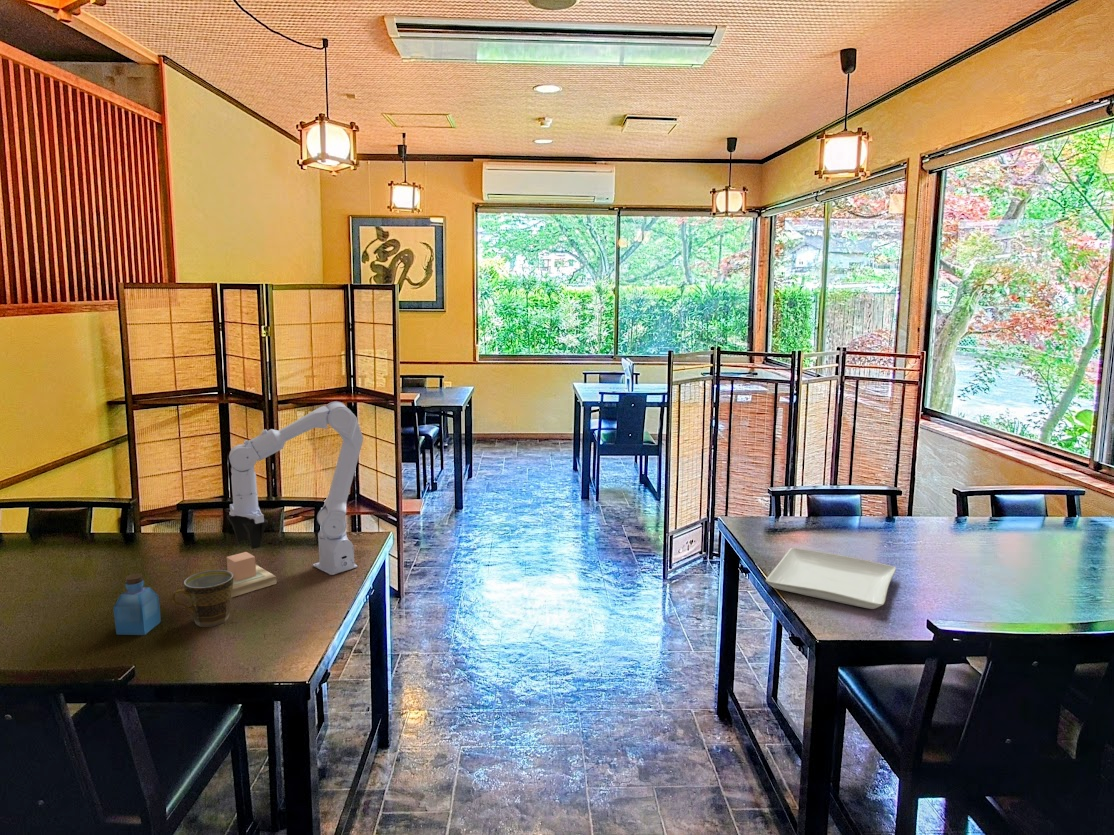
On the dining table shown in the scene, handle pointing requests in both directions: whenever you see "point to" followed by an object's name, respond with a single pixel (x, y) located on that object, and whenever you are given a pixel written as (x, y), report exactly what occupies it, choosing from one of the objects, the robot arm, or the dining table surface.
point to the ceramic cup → (208, 596)
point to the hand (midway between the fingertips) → (248, 544)
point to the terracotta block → (241, 566)
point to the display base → (253, 582)
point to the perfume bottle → (136, 608)
